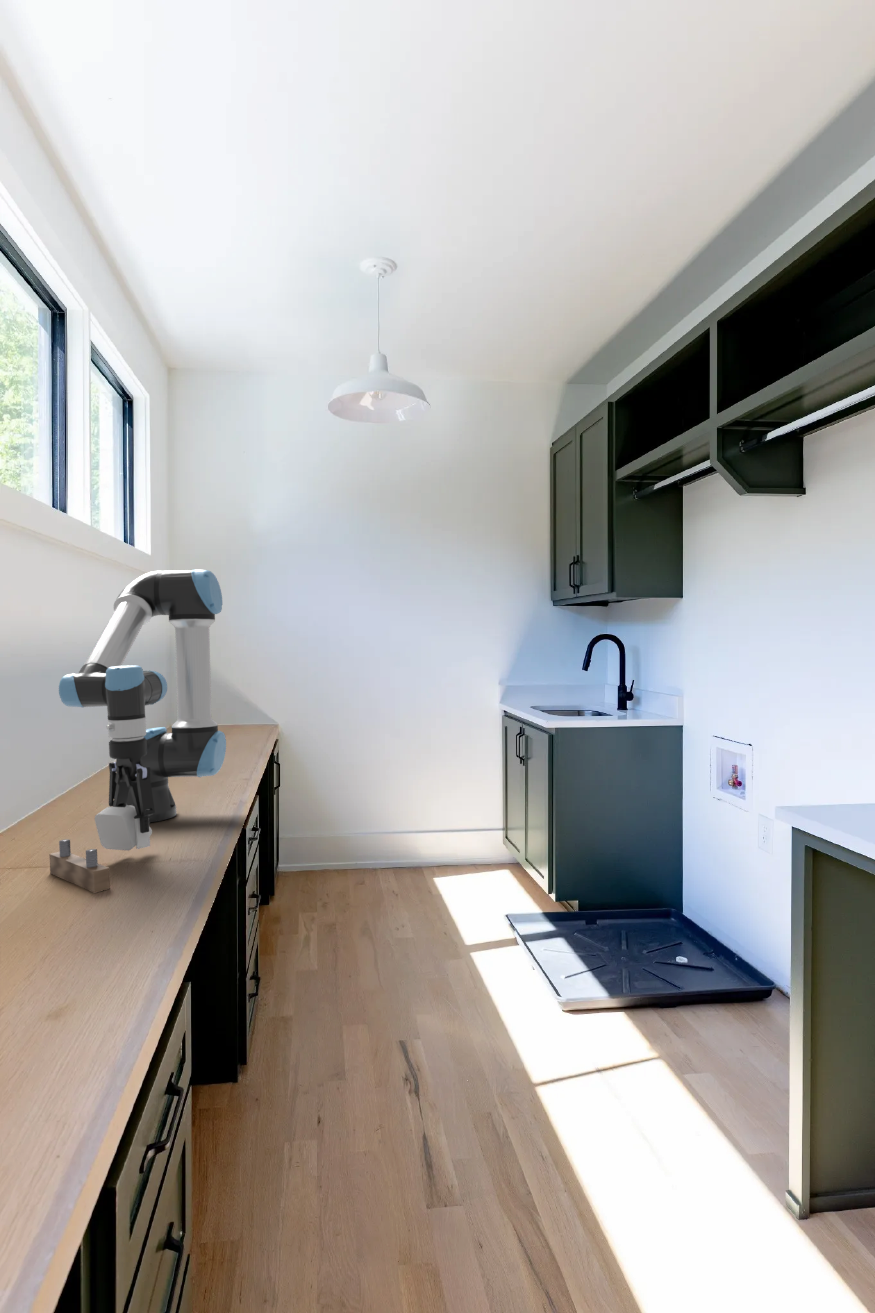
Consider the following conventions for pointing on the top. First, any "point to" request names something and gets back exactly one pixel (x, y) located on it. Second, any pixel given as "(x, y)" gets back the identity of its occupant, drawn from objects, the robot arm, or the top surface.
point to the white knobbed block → (117, 827)
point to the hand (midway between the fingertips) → (132, 843)
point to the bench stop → (79, 868)
